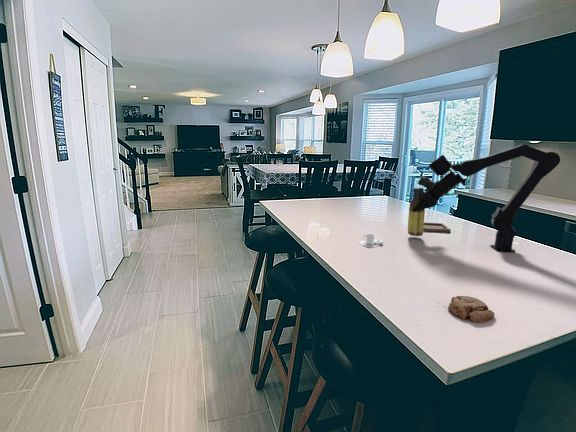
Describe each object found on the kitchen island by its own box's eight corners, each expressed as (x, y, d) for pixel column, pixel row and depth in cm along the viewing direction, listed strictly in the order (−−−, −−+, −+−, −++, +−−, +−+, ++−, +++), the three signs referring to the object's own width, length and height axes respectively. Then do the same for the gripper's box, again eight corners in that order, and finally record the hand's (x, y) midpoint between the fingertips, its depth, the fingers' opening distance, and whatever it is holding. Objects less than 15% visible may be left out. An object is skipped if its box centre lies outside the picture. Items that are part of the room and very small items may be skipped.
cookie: (479, 303, 87) (481, 292, 87) (501, 325, 77) (503, 313, 76) (439, 301, 88) (441, 290, 87) (456, 322, 78) (458, 311, 77)
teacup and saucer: (384, 244, 135) (385, 234, 135) (377, 249, 129) (378, 239, 128) (363, 240, 140) (364, 231, 139) (356, 245, 134) (356, 235, 133)
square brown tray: (450, 232, 153) (450, 229, 153) (422, 231, 155) (422, 228, 154) (442, 226, 165) (443, 223, 164) (416, 224, 166) (417, 221, 166)
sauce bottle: (420, 233, 146) (425, 187, 142) (424, 237, 140) (430, 189, 136) (404, 232, 147) (409, 186, 143) (408, 236, 141) (413, 188, 137)
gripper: (432, 168, 144) (403, 192, 151) (430, 171, 128) (397, 198, 135) (450, 187, 143) (420, 210, 150) (451, 193, 126) (417, 219, 133)
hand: (413, 209), depth 142 cm, fingers closed on sauce bottle, 6 cm apart
